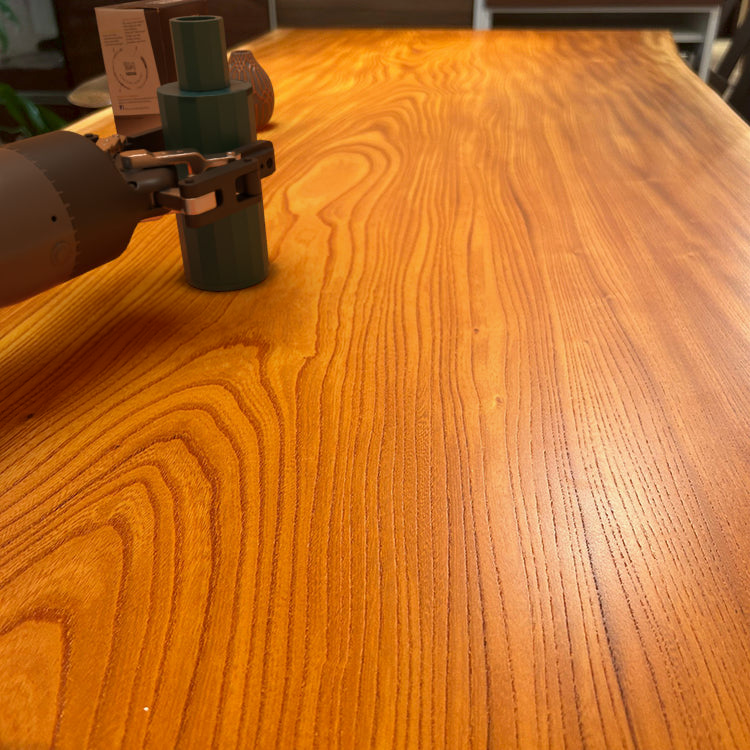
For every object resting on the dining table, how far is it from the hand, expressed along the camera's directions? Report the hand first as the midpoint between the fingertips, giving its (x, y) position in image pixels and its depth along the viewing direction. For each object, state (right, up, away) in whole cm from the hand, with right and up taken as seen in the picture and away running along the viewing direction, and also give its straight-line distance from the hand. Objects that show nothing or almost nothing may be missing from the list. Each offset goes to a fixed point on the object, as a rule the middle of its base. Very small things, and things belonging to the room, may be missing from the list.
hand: (218, 148), depth 52 cm
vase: (-5, +15, +43) cm, 46 cm away
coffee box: (-9, +3, +24) cm, 26 cm away
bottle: (0, -8, +4) cm, 9 cm away
